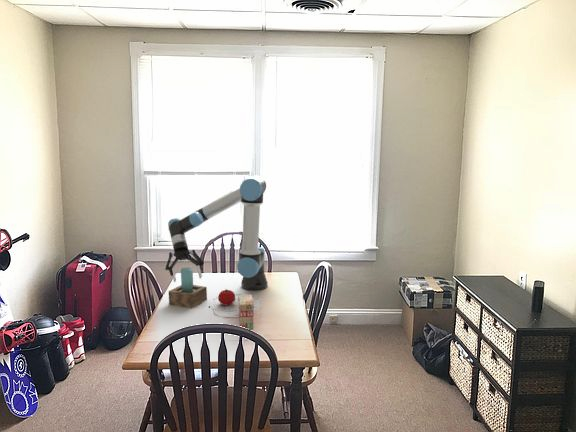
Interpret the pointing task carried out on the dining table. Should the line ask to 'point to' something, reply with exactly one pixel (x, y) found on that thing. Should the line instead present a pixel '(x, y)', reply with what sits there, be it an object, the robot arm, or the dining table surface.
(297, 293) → the dining table surface
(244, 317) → the printed cardboard box
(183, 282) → the teal round block
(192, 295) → the wooden box
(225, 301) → the tomato
